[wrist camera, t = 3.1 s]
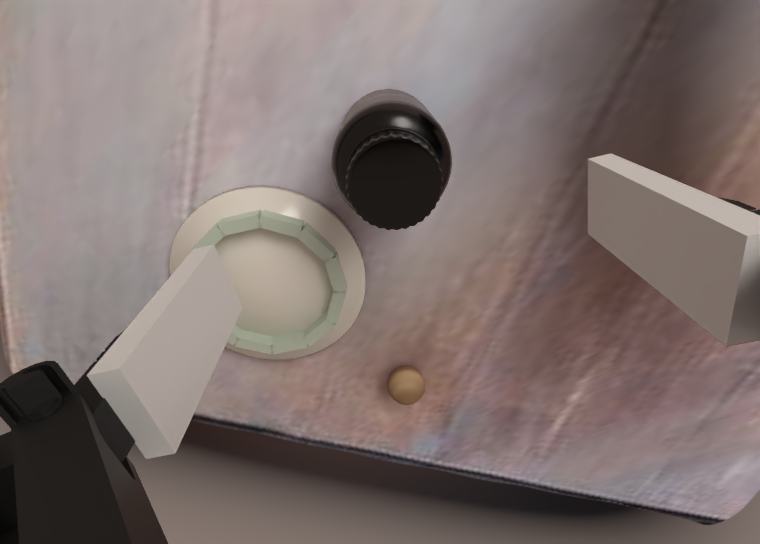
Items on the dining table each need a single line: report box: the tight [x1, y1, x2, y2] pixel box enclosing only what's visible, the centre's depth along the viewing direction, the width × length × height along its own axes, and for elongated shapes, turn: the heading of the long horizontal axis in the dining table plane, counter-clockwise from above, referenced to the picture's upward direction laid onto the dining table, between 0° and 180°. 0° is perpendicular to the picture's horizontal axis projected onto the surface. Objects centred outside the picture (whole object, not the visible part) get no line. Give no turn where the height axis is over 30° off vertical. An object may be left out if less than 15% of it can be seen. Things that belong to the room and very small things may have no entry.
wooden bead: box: [388, 366, 425, 405], centre depth 40 cm, size 4×4×4 cm
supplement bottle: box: [332, 89, 452, 230], centre depth 26 cm, size 7×7×12 cm
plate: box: [169, 186, 366, 360], centre depth 35 cm, size 16×16×2 cm
